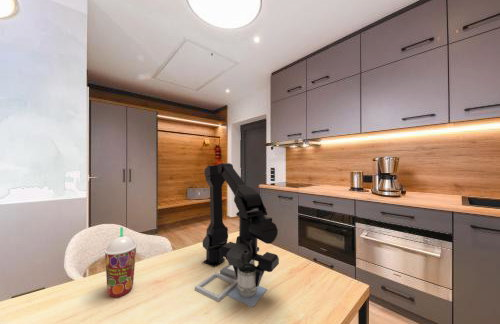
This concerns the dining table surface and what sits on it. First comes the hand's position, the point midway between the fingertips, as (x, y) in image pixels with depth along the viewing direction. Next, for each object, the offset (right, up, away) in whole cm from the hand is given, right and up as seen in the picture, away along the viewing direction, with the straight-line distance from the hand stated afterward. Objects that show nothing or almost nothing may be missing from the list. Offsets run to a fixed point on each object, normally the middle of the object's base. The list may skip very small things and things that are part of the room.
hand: (247, 282), depth 61 cm
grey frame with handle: (-5, -3, +11) cm, 12 cm away
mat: (0, -3, 0) cm, 3 cm away
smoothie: (-40, -3, 0) cm, 40 cm away
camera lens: (0, -3, 0) cm, 3 cm away
